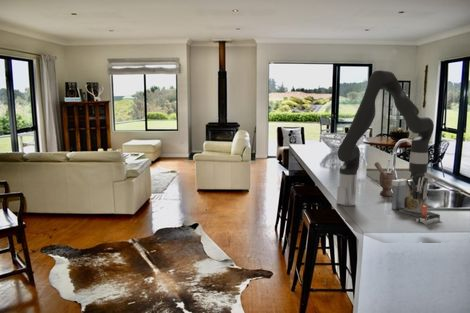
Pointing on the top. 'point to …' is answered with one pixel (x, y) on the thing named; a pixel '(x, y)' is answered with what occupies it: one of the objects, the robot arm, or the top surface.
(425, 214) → the lever
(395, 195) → the press
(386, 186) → the mortar and pestle
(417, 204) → the coffee box
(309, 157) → the top surface
